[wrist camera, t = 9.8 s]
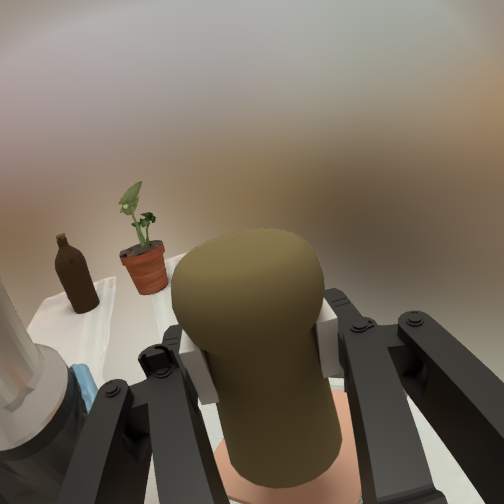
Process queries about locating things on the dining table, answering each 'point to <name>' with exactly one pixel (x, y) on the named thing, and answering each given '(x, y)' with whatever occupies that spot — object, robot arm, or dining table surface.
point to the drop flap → (314, 492)
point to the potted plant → (143, 250)
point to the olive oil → (75, 277)
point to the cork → (262, 351)
